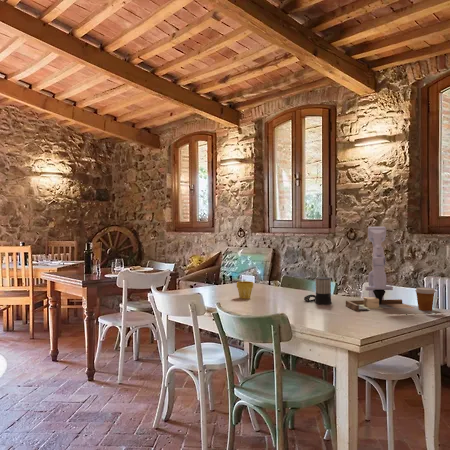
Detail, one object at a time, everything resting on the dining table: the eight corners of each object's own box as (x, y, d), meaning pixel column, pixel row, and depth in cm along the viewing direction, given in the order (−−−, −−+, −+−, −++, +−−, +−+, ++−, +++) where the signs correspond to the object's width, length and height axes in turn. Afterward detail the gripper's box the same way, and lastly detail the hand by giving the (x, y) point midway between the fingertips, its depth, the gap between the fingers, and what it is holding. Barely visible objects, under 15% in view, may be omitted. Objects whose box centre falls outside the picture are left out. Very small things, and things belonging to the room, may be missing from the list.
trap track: (345, 305, 251) (345, 300, 251) (401, 304, 253) (401, 299, 253) (356, 311, 235) (356, 305, 235) (414, 309, 238) (414, 304, 238)
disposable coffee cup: (423, 313, 227) (423, 290, 227) (411, 310, 237) (411, 287, 237) (439, 312, 230) (439, 289, 230) (426, 309, 239) (426, 286, 239)
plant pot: (253, 296, 285) (253, 281, 285) (253, 299, 275) (252, 283, 275) (237, 296, 286) (237, 281, 286) (236, 299, 276) (236, 283, 276)
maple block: (363, 305, 246) (363, 297, 246) (374, 305, 246) (374, 297, 246) (368, 307, 240) (368, 299, 240) (378, 307, 240) (378, 298, 240)
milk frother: (331, 305, 254) (331, 278, 254) (303, 304, 257) (303, 278, 257) (331, 301, 268) (331, 276, 268) (304, 300, 271) (304, 275, 271)
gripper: (369, 279, 239) (369, 305, 239) (395, 279, 240) (395, 304, 240) (363, 278, 246) (363, 302, 246) (389, 277, 247) (389, 302, 247)
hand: (379, 303), depth 244 cm, fingers closed
